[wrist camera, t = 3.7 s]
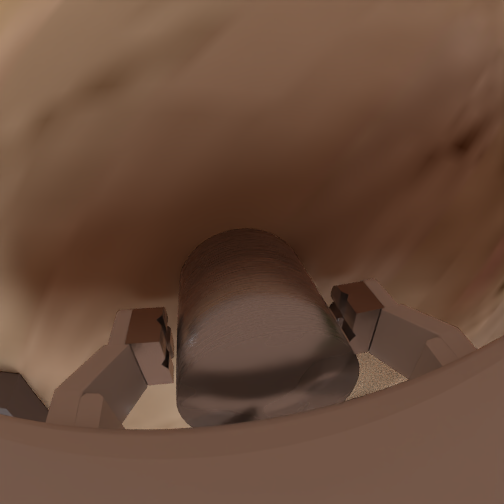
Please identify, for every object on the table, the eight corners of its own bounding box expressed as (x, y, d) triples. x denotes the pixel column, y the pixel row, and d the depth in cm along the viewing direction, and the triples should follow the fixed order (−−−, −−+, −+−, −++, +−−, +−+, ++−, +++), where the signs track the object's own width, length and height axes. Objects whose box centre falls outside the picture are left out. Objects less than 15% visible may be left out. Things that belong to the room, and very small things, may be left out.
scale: (15, 367, 11) (-15, 451, 6) (123, 483, 19) (123, 532, 15) (-92, 349, 9) (-116, 395, 4) (10, 461, 17) (3, 500, 13)
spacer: (304, 222, 10) (377, 315, 6) (298, 323, 12) (341, 422, 8) (169, 236, 10) (154, 349, 5) (189, 337, 12) (195, 447, 7)
